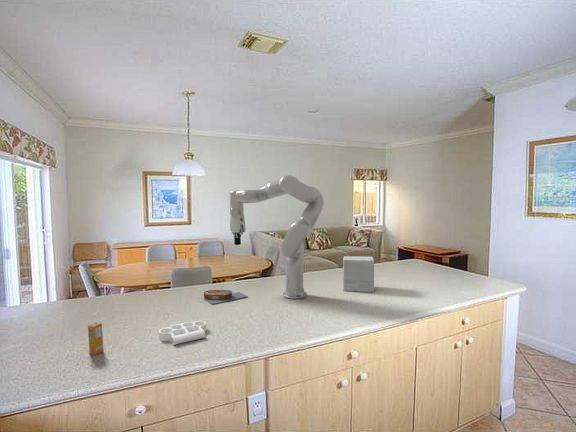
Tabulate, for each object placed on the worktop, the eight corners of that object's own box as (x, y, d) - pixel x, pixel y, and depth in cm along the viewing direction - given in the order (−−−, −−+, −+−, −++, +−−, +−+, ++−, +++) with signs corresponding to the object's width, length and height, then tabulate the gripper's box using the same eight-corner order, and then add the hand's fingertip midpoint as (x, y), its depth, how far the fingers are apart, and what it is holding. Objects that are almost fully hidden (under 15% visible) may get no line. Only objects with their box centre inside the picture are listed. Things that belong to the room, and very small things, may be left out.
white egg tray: (164, 349, 114) (155, 335, 127) (213, 337, 124) (201, 325, 137) (164, 340, 114) (155, 326, 127) (213, 329, 124) (201, 317, 136)
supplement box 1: (88, 354, 111) (86, 325, 110) (97, 349, 114) (96, 321, 113) (95, 355, 109) (94, 326, 109) (104, 351, 113) (103, 322, 112)
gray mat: (247, 297, 173) (247, 296, 173) (212, 304, 161) (212, 303, 161) (239, 293, 181) (239, 292, 181) (204, 299, 169) (204, 298, 169)
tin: (234, 290, 175) (229, 293, 167) (233, 296, 175) (229, 300, 167) (206, 289, 177) (201, 293, 168) (206, 295, 177) (201, 299, 168)
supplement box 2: (372, 286, 194) (372, 256, 194) (374, 292, 181) (374, 260, 180) (343, 285, 198) (343, 255, 197) (342, 291, 184) (343, 259, 183)
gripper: (249, 212, 181) (250, 245, 182) (236, 211, 192) (236, 242, 193) (237, 212, 176) (238, 246, 177) (224, 212, 188) (225, 244, 189)
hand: (237, 244), depth 185 cm, fingers closed
